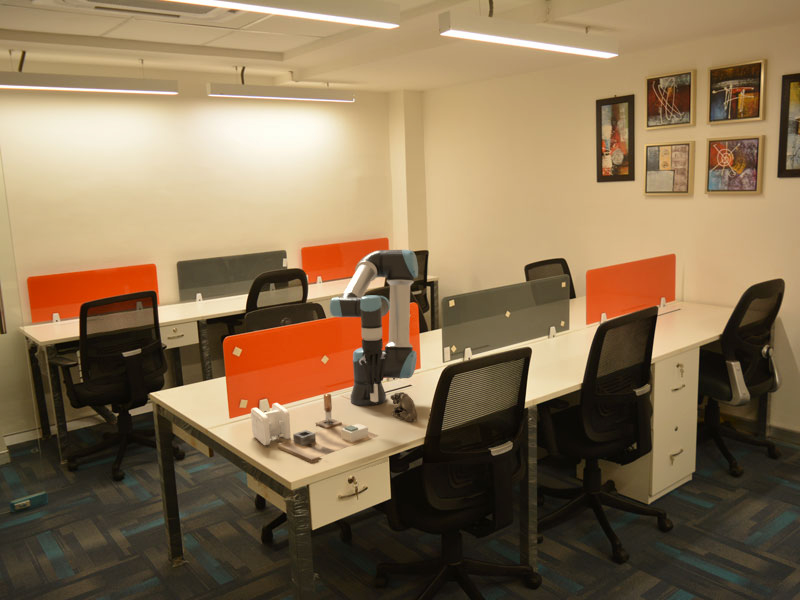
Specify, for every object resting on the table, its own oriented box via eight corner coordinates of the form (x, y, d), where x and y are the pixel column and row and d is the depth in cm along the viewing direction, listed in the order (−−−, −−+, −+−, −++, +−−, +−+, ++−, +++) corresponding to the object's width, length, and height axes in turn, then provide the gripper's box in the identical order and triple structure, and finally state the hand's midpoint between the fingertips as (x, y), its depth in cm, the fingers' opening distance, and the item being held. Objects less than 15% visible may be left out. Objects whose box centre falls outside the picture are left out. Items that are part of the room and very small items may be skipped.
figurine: (403, 411, 279) (402, 388, 278) (421, 421, 267) (420, 397, 265) (389, 414, 276) (388, 390, 275) (407, 424, 264) (406, 399, 262)
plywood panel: (344, 426, 265) (343, 415, 264) (378, 438, 250) (378, 427, 250) (278, 447, 244) (277, 436, 244) (311, 462, 230) (310, 451, 229)
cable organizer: (292, 442, 249) (290, 411, 247) (264, 449, 244) (262, 417, 242) (277, 430, 262) (276, 401, 260) (250, 436, 257) (248, 406, 255)
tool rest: (330, 423, 268) (330, 418, 268) (341, 427, 263) (341, 422, 263) (316, 427, 264) (315, 422, 263) (327, 432, 259) (327, 427, 258)
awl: (329, 425, 265) (328, 393, 263) (334, 427, 263) (332, 394, 261) (323, 427, 264) (322, 395, 261) (328, 429, 262) (326, 396, 259)
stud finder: (358, 432, 254) (358, 421, 253) (368, 436, 250) (367, 425, 249) (341, 438, 248) (341, 427, 248) (351, 442, 244) (350, 431, 244)
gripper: (378, 334, 257) (380, 395, 261) (351, 339, 248) (354, 403, 252) (392, 336, 252) (394, 399, 255) (365, 342, 243) (367, 407, 246)
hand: (374, 401), depth 254 cm, fingers closed
